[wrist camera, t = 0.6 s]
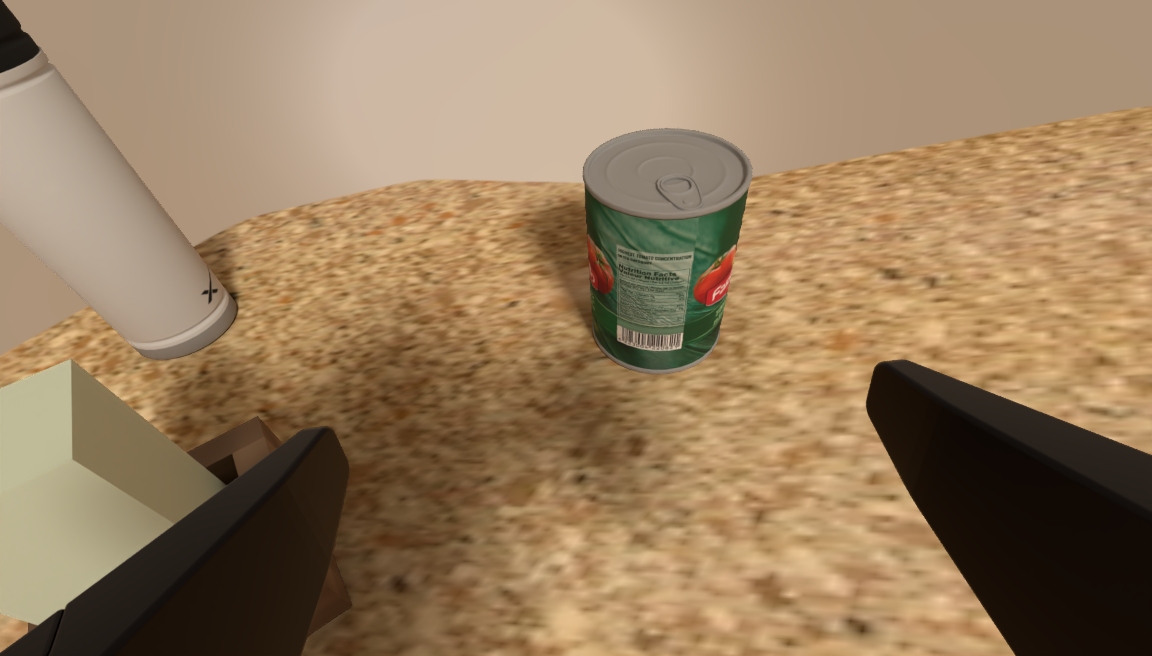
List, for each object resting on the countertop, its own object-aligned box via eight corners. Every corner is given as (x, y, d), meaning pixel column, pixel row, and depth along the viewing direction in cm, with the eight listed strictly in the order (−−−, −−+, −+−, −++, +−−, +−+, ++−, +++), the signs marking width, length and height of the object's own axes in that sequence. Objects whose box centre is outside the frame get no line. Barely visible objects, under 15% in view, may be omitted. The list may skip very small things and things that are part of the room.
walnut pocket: (352, 605, 22) (310, 574, 19) (115, 768, 19) (22, 760, 16) (296, 458, 27) (257, 416, 24) (104, 564, 24) (32, 531, 21)
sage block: (287, 595, 22) (72, 459, 14) (175, 668, 21) (-152, 566, 12) (263, 515, 25) (70, 358, 16) (162, 574, 23) (-113, 435, 15)
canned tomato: (579, 296, 34) (566, 141, 26) (691, 274, 35) (711, 116, 27) (611, 388, 29) (606, 228, 21) (741, 359, 30) (785, 194, 22)
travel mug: (261, 308, 35) (12, -37, 21) (171, 375, 32) (-209, 10, 17) (209, 282, 38) (-48, -44, 23) (119, 341, 34) (-253, -4, 20)
